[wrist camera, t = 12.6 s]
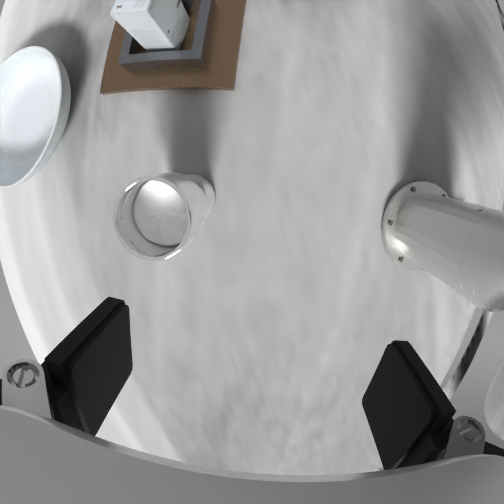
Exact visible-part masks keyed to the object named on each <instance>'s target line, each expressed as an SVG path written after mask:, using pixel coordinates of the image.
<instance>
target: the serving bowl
mask: <svg viewBox="0 0 504 504" xmlns="http://www.w3.org/2000/svg"><path fill="white" fill-rule="evenodd" d="M70 102H71V89H70V81H69V77H68V74H67V71H66V69H65V67H64V65H63V63H62V62H61V60H60V59H59V58H58V57H57V56H56V55H55V54H54V53H53V52H51V51H50V50H48V49H47V48H45V47H42V46H28V47H25V48H23V49H20V50H18V51H17V52H15V53H13V54H12V55H11V56H9V57H8V58H7V59H6V60H5V61H4V62H3V63H2V64H1V65H0V188H10V187H13V186H16V185H18V184H20V183H22V182H25V181H26V180H28V179H29V178H31V177H32V176H34V175H35V174H36V173H37V172H38V171H39V170H40V169H41V168H42V167H43V166H44V165H45V164H46V163H47V162H48V160H49V159H50V157H51V156H52V154H53V153H54V151H55V150H56V148H57V146H58V144H59V142H60V140H61V138H62V135H63V133H64V130H65V127H66V124H67V120H68V116H69V111H70Z"/></svg>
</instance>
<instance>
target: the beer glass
mask: <svg viewBox="0 0 504 504" xmlns="http://www.w3.org/2000/svg"><path fill="white" fill-rule="evenodd" d="M214 205H215V192H214V189H213V187H212V185H211V184H210V183H209V181H208V180H206V179H205V178H203V177H202V176H199V175H195V174H188V175H183V174H180V173H175V172H161V173H155V174H151V175H148V176H145V177H141V178H138V179H136V180H134V181H132V182H130V183H129V184H128V185H127V186H125V187H124V189H123V190H122V191H121V192H120V194H119V195H118V197H117V199H116V202H115V205H114V210H113V224H114V229H115V232H116V234H117V237H118V239H119V240H120V242H121V243H122V245H123V246H124V247H125V248H126V249H127V250H128V251H129V252H130V253H132V254H133V255H135V256H136V257H139V258H141V259H144V260H149V261H160V260H164V259H167V258H170V257H172V256H173V255H175V254H176V253H178V252H179V251H180V250H181V249H182V248H184V247H185V246H186V245H187V244H189V243H190V242H191V241H192V240H193V239H194V238H195V237H196V235H197V234H198V232H199V231H200V229H201V228H202V226H203V224H204V221H205V218H206V217H208V216H209V215H210V213H211V212H212V210H213V208H214Z"/></svg>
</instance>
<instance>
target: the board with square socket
mask: <svg viewBox="0 0 504 504" xmlns="http://www.w3.org/2000/svg"><path fill="white" fill-rule="evenodd" d="M181 2H182V4H183V6H184V8H185V10H186V12H187V14H188V16H189V18H190V20H189V24H188V28H187V31H186V34H185V37H184V40H183V43H182V46H181V49H180V50H177V51H161V52H148V51H147V50H146V49H145V48H144V47H143V46H142V45H141V44H140V43H139V42H138V41H137V40H136V39H135V38H134V37H133V36H131V35H130V34H129V33H128V32H127V31H126V30H125V29H124V28H123V27H122V26H121V25H120V24H119V23H118V22H117V21H116V22H115V26H114V29H113V33H112V37H111V41H110V45H109V49H108V54H107V58H106V63H105V68H104V73H103V78H102V84H101V89H100V93H101V94H110V93H119V92H130V91H144V90H164V89H216V90H234V88H235V79H236V71H237V63H238V55H239V47H240V40H241V32H242V25H243V18H244V11H245V5H246V0H181Z"/></svg>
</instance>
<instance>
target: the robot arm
mask: <svg viewBox="0 0 504 504" xmlns="http://www.w3.org/2000/svg"><path fill="white" fill-rule="evenodd" d="M388 220H389V222H388ZM382 236H383V242H384V245H385V248H386V250H387V252H388V254H389V256H390V257H391V258H392V259H393V261H395V262H396V263H397V264H398V265H400V266H401V267H403V268H405V269H408V270H412V271H420V270H425V269H426V270H427V271H428V272H430V273H431V274H433V275H434V276H436V277H437V278H438V279H440V280H441V281H443V282H444V283H446V284H447V285H448V286H450V287H451V288H452V289H454V290H455V291H457V292H458V293H459V294H461V295H462V296H463V297H465V298H466V299H468V300H469V301H470V302H472V303H473V304H474V305H476V306H477V307H479V308H481V309H483V310H485V311H489V312H501V311H504V212H502V211H499V210H495V209H492V208H488V207H484V206H480V205H476V204H473V203H469V202H465V201H460V200H456V199H452V198H449V196H448V195H447V193H446V192H445V191H444V190H443V189H442V188H440V187H439V186H438V185H436V184H433V183H431V182H426V181H415V182H411V183H409V184H407V185H405V186H403V187H402V188H400V189H399V190H398V191H397V192H396V193H395V194H394V195H393V197H392V198H391V200H390V201H389V203H388V205H387V207H386V210H385V213H384V217H383V221H382ZM132 367H133V363H132V351H131V337H130V318H129V307H128V305H125V302H124V301H123V300H120V299H116V298H112V297H108V298H106V299H105V300H104V301H103V302H102V303H101V304H100V305H99V306H98V307H97V308H96V309H95V310H94V311H92V312H91V313H90V314H89V315H88V316H87V317H86V318H85V319H84V320H83V321H82V322H81V323H80V324H79V325H78V326H77V327H76V328H75V329H74V330H73V331H72V332H71V333H70V334H69V335H68V336H67V337H66V338H65V339H63V340H62V341H61V342H60V343H59V344H58V345H57V346H56V347H55V348H54V350H53V351H52V352H51V353H50V354H49V355H48V356H47V357H46V358H45V361H44V362H43V363H42V364H41V365H40V364H39V363H37V362H36V361H33V360H30V359H20V360H16V361H14V362H12V363H10V364H9V365H8V366H7V367H6V368H5V369H4V371H3V375H2V379H0V504H504V449H502V448H499V447H497V446H495V445H493V444H490V443H488V442H486V441H485V430H484V428H483V426H482V425H481V423H480V422H478V421H477V420H476V419H474V418H472V417H468V416H460V417H458V418H457V419H455V420H453V418H452V417H453V415H454V414H455V412H456V410H455V409H454V407H453V406H452V404H451V402H450V401H449V399H448V398H447V396H446V395H445V393H444V392H443V390H442V389H441V387H440V386H439V384H438V383H437V381H436V380H435V378H434V377H433V376H432V374H431V373H430V371H429V370H428V368H427V367H426V365H425V364H424V363H423V361H422V360H421V358H420V357H419V356H418V354H417V353H416V351H415V350H414V349H413V347H412V346H411V344H410V343H409V342H408V341H397V340H394V341H393V342H392V343H391V344H388V345H387V347H386V349H385V351H384V354H383V356H382V358H381V361H380V363H379V365H378V367H377V369H376V371H375V374H374V376H373V378H372V380H371V382H370V384H369V386H368V388H367V390H366V392H365V394H364V396H363V399H362V405H363V408H364V411H365V414H366V417H367V420H368V423H369V425H370V428H371V431H372V434H373V437H374V440H375V443H376V446H377V449H378V452H379V455H380V458H381V462H382V465H383V468H384V470H383V471H375V472H367V473H356V474H342V475H317V476H297V475H272V474H258V473H247V472H238V471H230V470H223V469H216V468H210V467H204V466H199V465H194V464H189V463H184V462H179V461H175V460H170V459H166V458H162V457H158V456H155V455H151V454H147V453H144V452H141V451H137V450H134V449H131V448H128V447H125V446H121V445H118V444H115V443H112V442H109V441H106V440H104V439H101V438H98V437H95V435H96V434H97V432H98V430H99V428H100V426H101V425H102V423H103V421H104V419H105V417H106V416H107V414H108V412H109V410H110V409H111V407H112V405H113V403H114V402H115V400H116V398H117V396H118V395H119V393H120V391H121V389H122V388H123V386H124V384H125V382H126V381H127V379H128V377H129V376H130V374H131V371H132ZM484 411H485V418H486V420H487V423H488V425H489V427H490V428H491V429H492V431H493V432H494V433H495V434H496V435H497V436H498V437H499V438H500V439H502V440H503V441H504V356H503V358H502V360H501V362H500V364H499V367H498V369H497V371H496V373H495V375H494V377H493V380H492V382H491V384H490V386H489V389H488V392H487V395H486V399H485V405H484Z"/></svg>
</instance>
